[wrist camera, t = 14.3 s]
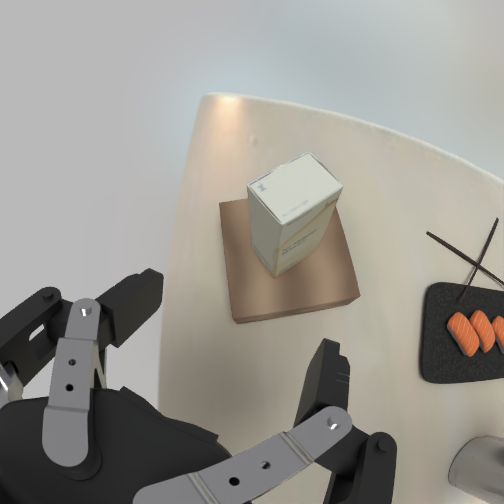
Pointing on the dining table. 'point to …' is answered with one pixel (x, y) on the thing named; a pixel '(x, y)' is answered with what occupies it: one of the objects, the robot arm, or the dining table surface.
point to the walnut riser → (289, 282)
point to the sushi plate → (463, 329)
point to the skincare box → (291, 211)
